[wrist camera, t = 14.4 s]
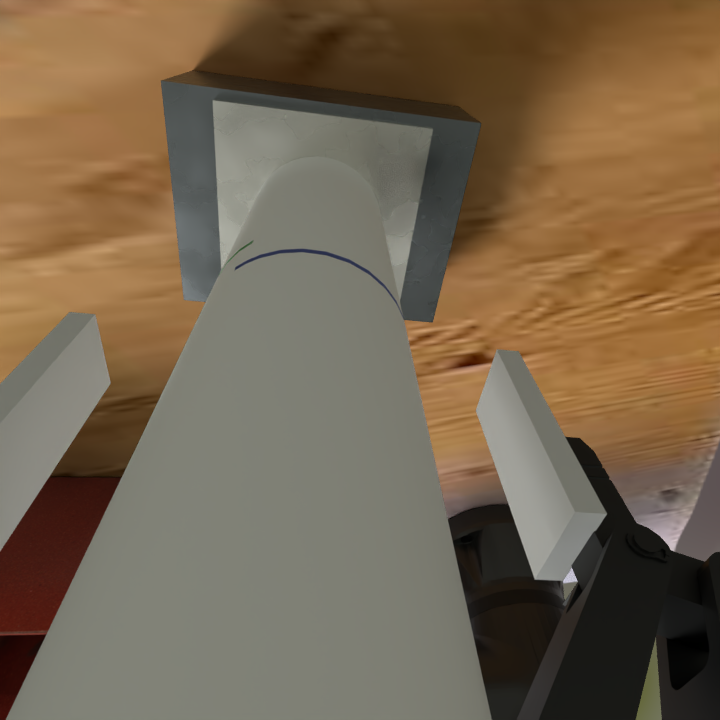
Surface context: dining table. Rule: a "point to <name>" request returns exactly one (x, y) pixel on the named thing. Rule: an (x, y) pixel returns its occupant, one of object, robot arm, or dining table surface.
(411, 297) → the grey rectangular block
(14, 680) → the plant pot
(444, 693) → the cylindrical container
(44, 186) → the dining table surface
